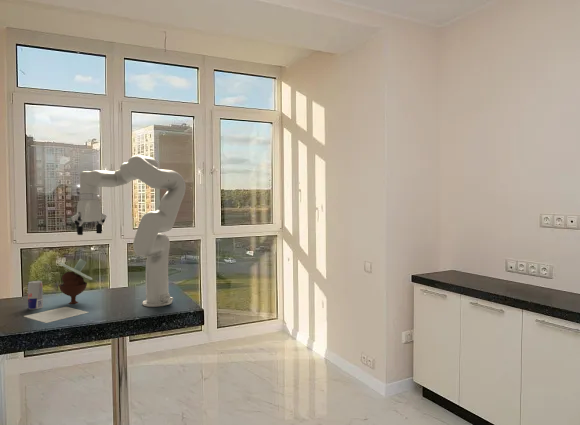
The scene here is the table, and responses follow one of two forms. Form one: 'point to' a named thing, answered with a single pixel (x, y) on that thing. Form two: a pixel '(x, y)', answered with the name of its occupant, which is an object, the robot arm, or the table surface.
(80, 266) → the lid
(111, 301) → the table surface
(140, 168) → the robot arm
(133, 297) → the table surface
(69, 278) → the ice cream bowl
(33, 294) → the energy drink
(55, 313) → the mat
